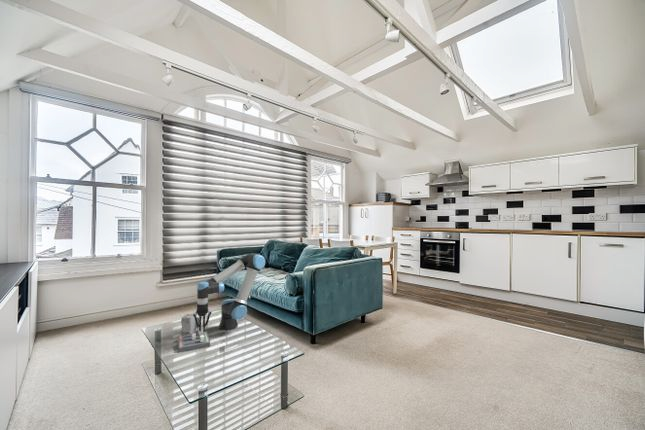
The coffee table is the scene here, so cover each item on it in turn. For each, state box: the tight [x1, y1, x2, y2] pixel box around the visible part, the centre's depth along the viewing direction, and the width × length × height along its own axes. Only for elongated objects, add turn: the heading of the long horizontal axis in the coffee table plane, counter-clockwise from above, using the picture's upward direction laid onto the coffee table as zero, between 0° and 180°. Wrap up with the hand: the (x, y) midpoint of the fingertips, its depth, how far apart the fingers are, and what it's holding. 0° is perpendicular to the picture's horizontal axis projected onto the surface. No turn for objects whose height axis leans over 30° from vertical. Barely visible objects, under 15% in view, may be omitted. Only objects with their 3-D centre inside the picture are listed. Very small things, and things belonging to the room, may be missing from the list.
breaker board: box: [177, 331, 211, 353], centre depth 203 cm, size 20×22×3 cm
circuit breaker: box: [180, 313, 199, 336], centre depth 220 cm, size 8×14×15 cm, turn 174°
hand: (201, 335), depth 205 cm, fingers closed
